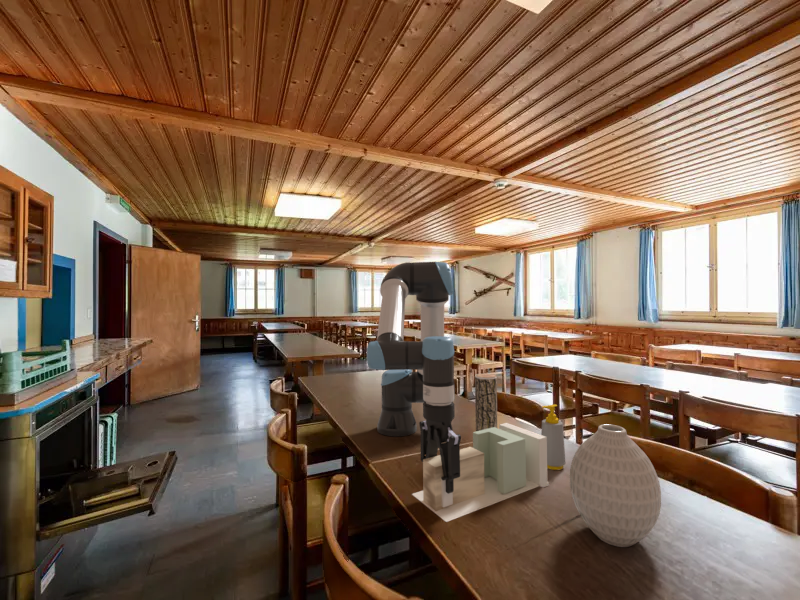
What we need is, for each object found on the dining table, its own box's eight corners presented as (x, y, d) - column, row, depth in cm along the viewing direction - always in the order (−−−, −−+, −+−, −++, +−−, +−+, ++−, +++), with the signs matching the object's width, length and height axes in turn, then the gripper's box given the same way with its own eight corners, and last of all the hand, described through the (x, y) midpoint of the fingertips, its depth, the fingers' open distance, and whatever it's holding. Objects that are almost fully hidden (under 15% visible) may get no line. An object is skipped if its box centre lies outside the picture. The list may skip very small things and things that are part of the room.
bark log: (498, 458, 115) (497, 378, 115) (476, 457, 116) (474, 377, 116) (497, 450, 121) (496, 373, 122) (476, 448, 123) (475, 373, 123)
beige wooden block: (423, 501, 89) (422, 459, 89) (471, 485, 96) (470, 446, 97) (435, 511, 84) (435, 467, 85) (484, 493, 92) (484, 453, 92)
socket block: (473, 476, 101) (472, 432, 101) (494, 469, 105) (494, 427, 105) (503, 493, 91) (503, 445, 91) (525, 485, 95) (525, 438, 96)
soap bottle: (535, 463, 111) (534, 403, 112) (553, 459, 114) (552, 401, 114) (551, 472, 105) (550, 409, 105) (571, 468, 107) (570, 406, 107)
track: (411, 497, 92) (411, 445, 92) (508, 465, 110) (507, 422, 110) (446, 525, 80) (445, 466, 80) (548, 485, 98) (548, 436, 98)
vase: (596, 506, 87) (595, 411, 87) (677, 543, 74) (675, 431, 74) (554, 529, 78) (552, 424, 79) (636, 576, 65) (634, 448, 65)
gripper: (405, 395, 94) (406, 487, 94) (449, 413, 79) (451, 523, 78) (429, 392, 98) (430, 480, 98) (476, 408, 83) (477, 513, 82)
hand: (439, 499), depth 88 cm, fingers closed on beige wooden block, 5 cm apart
